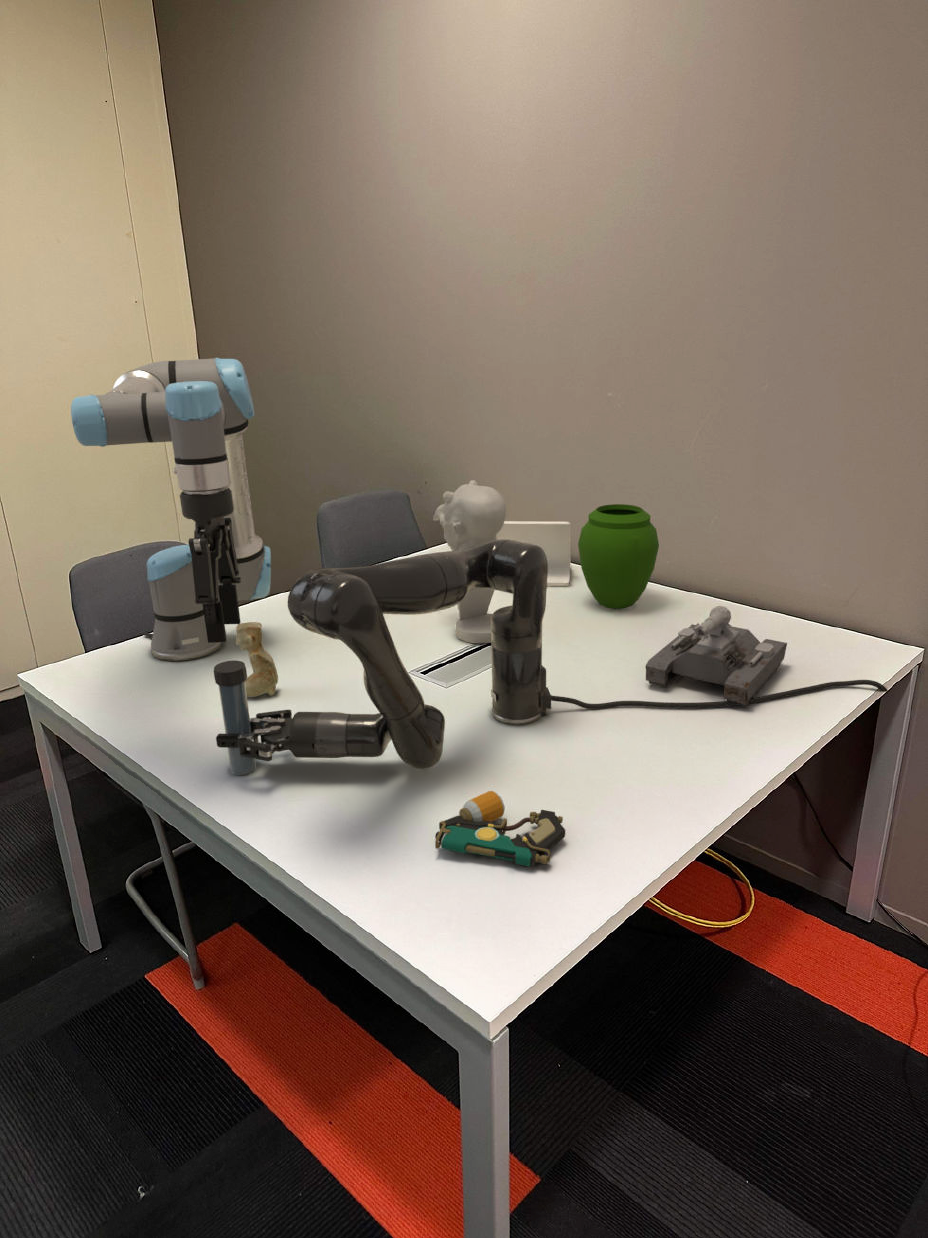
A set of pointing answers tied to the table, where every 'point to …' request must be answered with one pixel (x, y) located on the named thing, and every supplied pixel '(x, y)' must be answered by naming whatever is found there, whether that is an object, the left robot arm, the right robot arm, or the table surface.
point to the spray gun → (499, 832)
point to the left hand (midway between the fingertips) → (224, 632)
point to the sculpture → (257, 660)
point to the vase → (618, 554)
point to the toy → (718, 657)
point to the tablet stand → (544, 545)
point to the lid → (230, 673)
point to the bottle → (236, 724)
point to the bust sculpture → (468, 525)
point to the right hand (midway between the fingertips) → (222, 733)
